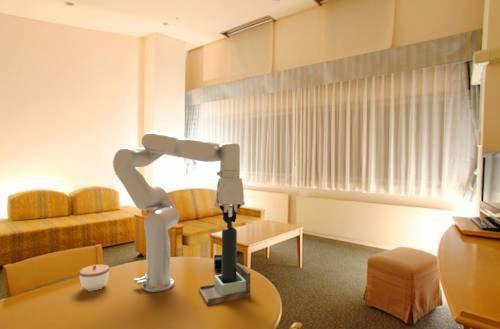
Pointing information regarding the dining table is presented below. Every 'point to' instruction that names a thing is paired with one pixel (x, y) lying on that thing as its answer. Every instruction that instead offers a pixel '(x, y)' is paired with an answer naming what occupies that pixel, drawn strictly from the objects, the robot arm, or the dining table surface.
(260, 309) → the dining table surface
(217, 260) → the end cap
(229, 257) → the wine bottle
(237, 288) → the socket block
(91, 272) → the lidded jar
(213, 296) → the rail board
